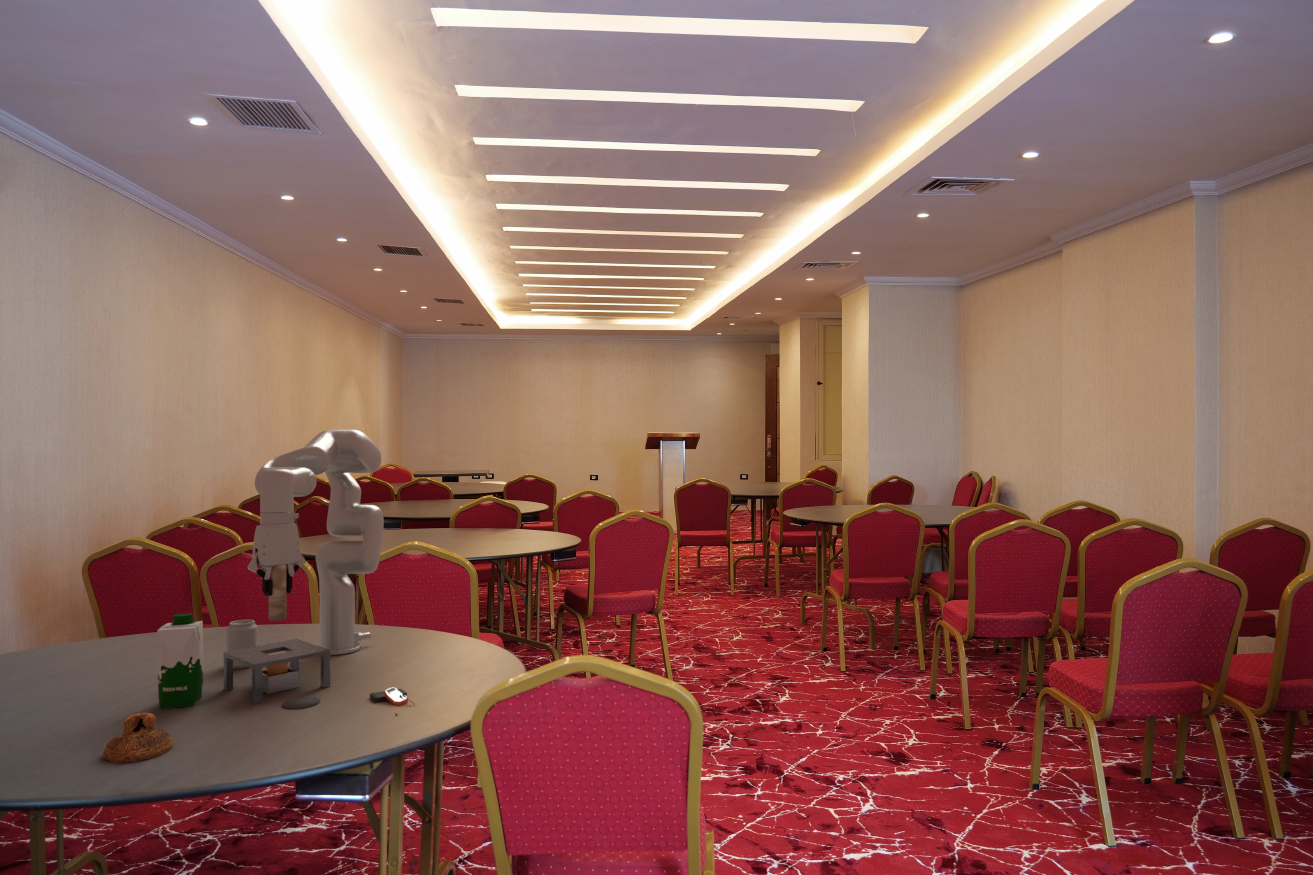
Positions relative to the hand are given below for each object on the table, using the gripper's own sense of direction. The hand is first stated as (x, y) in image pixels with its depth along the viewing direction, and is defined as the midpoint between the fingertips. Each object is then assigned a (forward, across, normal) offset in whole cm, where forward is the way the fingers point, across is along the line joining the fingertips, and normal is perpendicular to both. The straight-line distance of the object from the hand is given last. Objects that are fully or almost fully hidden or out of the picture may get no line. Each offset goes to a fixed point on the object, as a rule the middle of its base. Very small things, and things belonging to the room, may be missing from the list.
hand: (277, 593), depth 204 cm
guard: (+23, 0, 0) cm, 23 cm away
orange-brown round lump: (+20, 0, 0) cm, 20 cm away
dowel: (+6, 0, 0) cm, 6 cm away
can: (+23, -3, -28) cm, 37 cm away
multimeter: (+24, -13, +35) cm, 44 cm away
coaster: (+23, +2, +17) cm, 29 cm away
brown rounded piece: (+24, +37, +22) cm, 49 cm away
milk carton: (+23, +20, -5) cm, 31 cm away
